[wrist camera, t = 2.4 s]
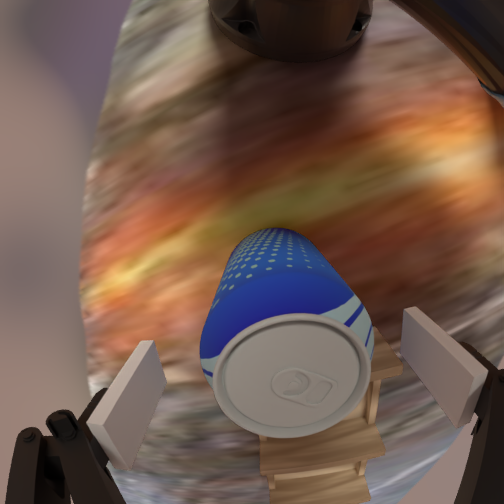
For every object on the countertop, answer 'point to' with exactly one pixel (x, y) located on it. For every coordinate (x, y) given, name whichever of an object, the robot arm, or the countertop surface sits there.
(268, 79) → the countertop surface
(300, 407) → the beer can
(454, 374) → the robot arm
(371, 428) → the rack
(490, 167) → the countertop surface
